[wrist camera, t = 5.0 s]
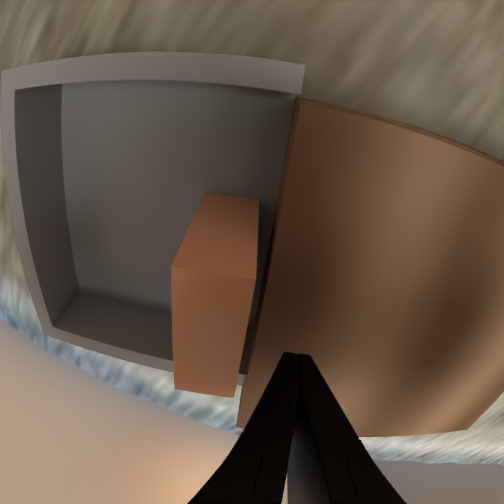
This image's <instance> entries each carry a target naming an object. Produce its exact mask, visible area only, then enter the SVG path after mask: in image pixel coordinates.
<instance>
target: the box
mask: <svg viewBox="0 0 504 504" xmlns="http://www.w3.org/2000/svg"><path fill="white" fill-rule="evenodd" d="M305 66H306V65H303V64H298V63H292V62H286V61H280V60H273V59H266V58H259V57H250V56H241V55H231V54H218V53H202V52H126V53H111V54H99V55H89V56H80V57H72V58H65V59H58V60H52V61H46V62H41V63H35V64H30V65H25V66H21V67H16V68H12V69H8V70H4V71H2V77H1V131H2V147H3V159H4V169H5V178H6V185H7V193H8V199H9V205H10V211H11V217H12V222H13V227H14V232H15V236H16V241H17V245H18V250H19V254H20V258H21V262H22V265H23V269H24V273H25V276H26V280H27V283H28V287H29V290H30V293H31V296H32V300H33V303H34V306H35V309H36V312H37V315H38V317H39V320H40V323H41V326H42V328H43V331H44V334H45V335H48V336H51V337H53V338H56V339H59V340H62V341H65V342H68V343H71V344H74V345H77V346H80V347H83V348H86V349H89V350H92V351H95V352H99V353H102V354H105V355H109V356H112V357H115V358H119V359H122V360H126V361H130V362H133V363H137V364H141V365H145V366H149V367H153V368H157V369H161V370H165V371H170V372H174V366H173V342H172V301H171V266H172V264H173V262H174V259H175V257H176V255H177V253H178V250H179V248H180V246H181V244H182V241H183V239H184V237H185V235H186V233H187V230H188V228H189V226H190V224H191V222H192V220H193V217H194V215H195V213H196V211H197V209H198V207H199V205H200V203H201V200H202V198H203V196H204V194H205V192H206V193H214V194H221V195H229V196H236V197H243V198H250V199H257V200H259V217H258V244H257V271H256V282H255V288H254V293H253V298H252V304H251V309H250V314H249V320H248V325H247V330H246V336H245V341H244V346H243V352H242V357H241V362H240V367H239V373H238V378H237V383H236V385H242V386H245V382H246V377H247V371H248V363H249V356H250V349H251V341H252V334H253V327H254V321H255V316H256V311H257V306H258V301H259V296H260V290H261V285H262V280H263V275H264V269H265V264H266V259H267V253H268V248H269V243H270V237H271V232H272V227H273V221H274V216H275V210H276V205H277V199H278V194H279V188H280V182H281V177H282V171H283V166H284V160H285V154H286V149H287V143H288V137H289V131H290V125H291V120H292V114H293V108H294V102H295V96H296V94H300V95H301V90H302V84H303V78H304V72H305Z"/></svg>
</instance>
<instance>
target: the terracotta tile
mask: <svg viewBox="0 0 504 504" xmlns="http://www.w3.org/2000/svg"><path fill="white" fill-rule="evenodd" d="M258 217H259V200H257V199H250V198H243V197H236V196H229V195H221V194H214V193H206V192H205V194H204V196H203V198H202V200H201V203H200V205H199V207H198V209H197V211H196V213H195V215H194V217H193V220H192V222H191V224H190V226H189V228H188V230H187V233H186V235H185V237H184V239H183V241H182V244H181V246H180V248H179V250H178V253H177V255H176V257H175V259H174V262H173V264H172V266H171V301H172V342H173V366H174V384H175V389H179V390H185V391H191V392H197V393H203V394H210V395H217V396H225V397H233V398H234V393H235V388H236V383H237V378H238V373H239V367H240V362H241V357H242V352H243V346H244V341H245V336H246V330H247V325H248V320H249V314H250V309H251V304H252V298H253V293H254V288H255V282H256V271H257V244H258Z"/></svg>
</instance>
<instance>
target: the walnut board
mask: <svg viewBox="0 0 504 504" xmlns="http://www.w3.org/2000/svg"><path fill="white" fill-rule="evenodd" d="M283 352H293V353H296V354H298V353H301V354H309V355H310V356H311V357H312V358H313V360H314V362H315V364H316V365H317V367H318V369H319V370H320V372H321V374H322V376H323V377H324V379H325V381H326V382H327V384H328V386H329V387H330V389H331V391H332V393H333V394H334V396H335V398H336V399H337V401H338V403H339V405H340V406H341V408H342V410H343V411H344V413H345V415H346V416H347V418H348V420H349V422H350V423H351V425H352V427H353V428H354V430H355V432H356V433H357V435H358V437H388V436H409V435H422V434H434V433H443V432H452V431H459V430H467V429H468V428H469V427H470V426H471V425H472V424H473V423H474V422H475V421H476V420H477V419H478V418H479V417H480V416H481V415H482V414H483V413H484V412H485V411H486V410H487V409H488V408H489V407H490V406H491V405H492V404H493V403H494V402H495V401H496V400H497V398H498V397H499V396H500V395H501V394H502V393H503V392H504V162H502V161H500V160H498V159H495V158H493V157H491V156H489V155H486V154H484V153H482V152H479V151H477V150H475V149H472V148H470V147H467V146H465V145H463V144H460V143H457V142H455V141H452V140H450V139H447V138H444V137H442V136H439V135H436V134H433V133H430V132H428V131H425V130H422V129H419V128H416V127H413V126H410V125H406V124H403V123H400V122H397V121H393V120H390V119H387V118H383V117H380V116H376V115H372V114H369V113H365V112H361V111H357V110H353V109H349V108H345V107H341V106H336V105H332V104H327V103H323V102H318V101H313V100H308V99H303V98H297V97H295V102H294V108H293V114H292V120H291V125H290V131H289V137H288V143H287V149H286V154H285V160H284V166H283V171H282V177H281V182H280V188H279V194H278V199H277V205H276V210H275V216H274V221H273V227H272V232H271V237H270V243H269V248H268V253H267V259H266V264H265V269H264V275H263V280H262V285H261V290H260V296H259V301H258V306H257V311H256V316H255V321H254V327H253V334H252V341H251V349H250V356H249V363H248V371H247V377H246V382H245V386H242V391H241V398H240V405H239V411H238V418H237V425H236V427H239V428H245V426H246V424H247V422H248V420H249V418H250V416H251V415H252V413H253V411H254V409H255V407H256V405H257V403H258V401H259V399H260V397H261V395H262V394H263V392H264V390H265V388H266V386H267V384H268V382H269V380H270V378H271V376H272V374H273V372H274V370H275V368H276V366H277V364H278V362H279V360H280V358H281V356H282V354H283Z"/></svg>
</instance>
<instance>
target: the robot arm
mask: <svg viewBox="0 0 504 504" xmlns="http://www.w3.org/2000/svg"><path fill="white" fill-rule="evenodd" d="M358 439H359V437H358V435H357V433H356V432H355V430H354V428H353V427H352V425H351V423H350V422H349V420H348V418H347V416H346V415H345V413H344V411H343V410H342V408H341V406H340V405H339V403H338V401H337V399H336V398H335V396H334V394H333V393H332V391H331V389H330V387H329V386H328V384H327V382H326V381H325V379H324V377H323V376H322V374H321V372H320V370H319V369H318V367H317V365H316V364H315V362H314V360H313V358H312V357H311V356H310V355H309V354H301V353H298V354H296V353H293V352H283V354H282V356H281V358H280V360H279V362H278V364H277V366H276V368H275V370H274V372H273V374H272V376H271V378H270V380H269V382H268V384H267V386H266V388H265V390H264V392H263V394H262V395H261V397H260V399H259V401H258V403H257V405H256V407H255V409H254V411H253V413H252V415H251V416H250V418H249V420H248V422H247V424H246V426H245V428H244V429H243V432H242V433H241V435H240V436H239V438H238V440H237V442H236V443H235V445H234V447H233V448H232V450H231V451H230V453H229V455H228V456H227V457H226V459H225V460H224V461H223V463H222V464H221V465H220V467H219V468H218V469H217V470H216V471H215V473H214V474H213V475H212V476H211V477H210V479H209V480H208V481H207V482H206V483H205V484H204V486H203V487H202V488H201V489H200V490H199V491H198V493H197V494H196V495H195V496H194V497H193V498H192V499H191V500H190V501H189V502H188V503H187V504H281V502H282V497H283V491H284V486H285V480H286V475H287V487H288V488H287V490H288V504H407V503H406V502H405V501H404V500H403V499H402V498H401V496H400V495H399V494H398V493H397V491H396V490H395V489H394V488H393V487H392V485H391V484H390V483H389V481H388V480H387V479H386V477H385V476H384V475H383V474H382V472H381V471H380V469H379V468H378V467H377V465H376V464H375V463H374V461H373V460H372V458H371V457H370V455H369V453H368V452H367V450H366V449H365V447H364V445H363V444H362V442H361V440H360V439H359V440H358Z"/></svg>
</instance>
